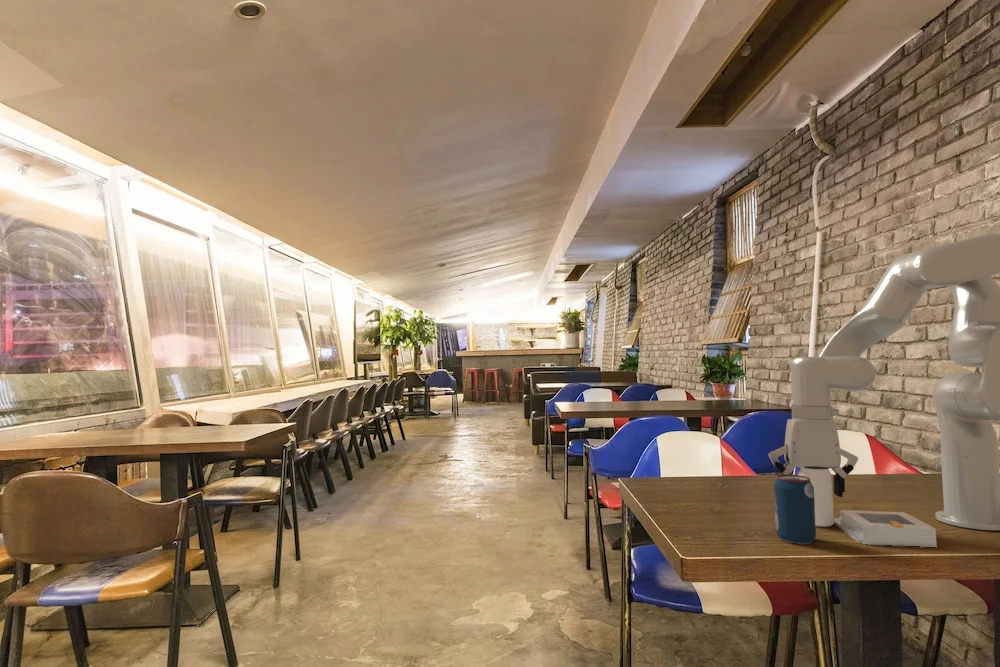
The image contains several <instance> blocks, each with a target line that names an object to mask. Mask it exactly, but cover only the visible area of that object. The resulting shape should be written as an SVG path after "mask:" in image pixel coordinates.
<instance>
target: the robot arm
mask: <svg viewBox="0 0 1000 667" xmlns="http://www.w3.org/2000/svg"><path fill="white" fill-rule="evenodd" d="M999 274H1000V234H999V233H992V232H991V233H984V234H981V235H977V236H974V237H969V238H966V239H965V238H964V239H962V240H958V241H953V242H950V243H945V244H941V245H936V246H931V247H927V248H922V249H919V250H916V251H912V252H909V253H905V254H903V255H900V256H898V257H897V258H895V259H894V260H893V261H892V262H891V263H890V264H889V265H888V267H887V268H886V270H885V271H884V273H883V274H882V276H881V278H879V281H878V282H877V284H876V285H875V286H874V288H873V290H872V292H871V293H870V295H869V297H868V298H867V299H866V301H865V303H864V304H863V306H862V307H861V308H860V309H859V311H857V312H856V313H855V314H854V315H853V316H851V318H849V320H848V321H847V322H846V323H844V325H843V326H842V327H840V329H838V331H837V332H835V333H834V334H833V335H832V337H831V338H830V339H829V340H828V342H827V343H826V345H825V346H824V347H823V350H822V351H821V352H820V354H819V355H818V356H797V357H794V358H793V359H792V360H791V361H790V362H791V363H790V391H791V419H790V418H788V419H787V422H786V428H785V434H784V435H785V436H784V446H781V447H779V448H777V449H775V450H773V451H770V452H769V453H768V454H767V455H768V457H769V459H770V461H771V463H772V464H773V466H774V467H775V469H777V470H778V471H779V472H780V473H781V475H791V473H792V472H793V471H794V470H795V469H796V468H800V467H806V468H829V469H830V470H831V471H833V472H834V473H835V475H833V476H832V480H833V495H835V496H837V497H838V498H843V495H844V493H846V483H845V481H846V480H845V479H846V478H847V476H848V475H849V474H850V473H851V472H852V471H853V470H854V468H855V467H856V465H857V463H858V461H859V457H858V456H857V455H854V454H852V453H851V452H849V451H846V450H844V449H843V448H841V445H840V439H839V433H838V428H837V424H836V421H835V420H833V417H834V416H839V414H840V412H839V409H838V408H833V405H832V390H833V391H835V390H836V391H844V392H845V391H847V392H859V391H863V390H866V389H867V388H869V387H871V386H872V385H873V384H874V382H875V381H876V376H877V373H876V368H875V366H874V365H873V364H872V363H871V362H870V361H869V360H868V359H866V358H864V357H861V355H862V354H863V353H864V352H866V351H867V350H868V349H869V348H871V347H872V346H874V345H875V344H877V343H878V342H880V341H883V340H884V339H886V338H888V337H890V336H892V335H893V334H896V332H898V331H899V330H901V329H902V328H903V327H904V326H905V324H906V322H907V320H908V319H909V318H910V316H911V314H912V313H913V311H914V309H915V307H916V306H917V305H918V303H919V302H920V301H921V299H922V297H923V296H924V294H925V292H927V290H933V289H938V288H944V287H947V288H948V289H949V291H950V293H951V294H952V297H953V300H954V302H953V304H954V307H953V315H952V322H951V327H950V334H949V339H948V347H947V348H948V350H947V352H948V356H949V357H950V359H951V361H953V362H954V363H955V364H957V365H959V366H961V367H967V368H981V372H955V373H950V374H948V375H945V376H943V377H942V378H940V379H938V381H937V382H936V383H935V384H934V386H933V389H932V403H933V407H934V410H935V414H936V417H937V422H938V428H939V437H940V438H939V440H940V458H941V477H942V478H941V479H942V480H941V482H942V495H943V510H938V511H936V512H935V513H934V514H935V519H936V520H937V521H940V522H941V523H943V524H948V525H951V526H955V527H959V528H965V529H972V530H980V531H997V532H998V531H1000V461H999V460H1000V457H999V442H998V441H999V440H998V437H997V432H996V430H995V427H994V426H993V424H992V421H994V422H1000V285H999V283H998V282H997V281H996V280H995V279H994V278H993V277H992V276H996V275H999ZM783 455H784V461H785V462H786V463H785V464H782V463H781V462H780V460H779V457H781V456H783ZM842 457H844V458H845V459H847V462H846V463H845V464H844V465H843V466H842V467H841V462H842Z"/></svg>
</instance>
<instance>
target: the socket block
mask: <svg viewBox="0 0 1000 667" xmlns="http://www.w3.org/2000/svg"><path fill="white" fill-rule="evenodd" d="M833 525H835V526H836V527H837V528H839V529H840V530H841V531H842V532H844V533H845V534H846V535H848V537H851V538H852V539H853V540H854V541H856V542H857V543H861V544H863V545H866V544H867V545H868V546H885V545H892V546H891V547H905V546H920V547H919V548H925V547H936V548H935V549H937V548H938V545H937V544H938V543H937V530H936V528H935V527H934V526H931V525H929V524H927V523H926V522H924V521H921V520H920V519H918V518H916V517H914V516H913V515H911V514H908V513H906V512H903V511H881V510H880V511H877V510H875V511H874V510H855V509H854V510H852V509H849V510H848V509H840V510H839V517H834V524H833ZM900 545H901V546H900ZM903 545H904V546H903Z"/></svg>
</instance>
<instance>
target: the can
mask: <svg viewBox="0 0 1000 667" xmlns="http://www.w3.org/2000/svg"><path fill="white" fill-rule="evenodd" d="M797 475H800V476H806V477H809V478H810V482H811V484H812V485H813V487H814V502H815V525H816V528H830V527H831V528H832V527H833V525H835V524H834V518H835V517H834V496H833V495H834V489H833V476H832V473H831V471H830V468H806V467H799V469H798V471H797Z"/></svg>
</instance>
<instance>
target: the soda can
mask: <svg viewBox="0 0 1000 667" xmlns="http://www.w3.org/2000/svg"><path fill="white" fill-rule="evenodd" d="M773 493H774V496H773V498H774V518H775V519H774V521H775V522H774V523H775V524H774V525H775V533H776V535H777V537H778V538H779V539H780V540H781V541H782V540H783V541H782V542H784V541H786V542H785V543H788V542H791V543H790V544H792V543H797V544H796V545H810V544H812V543H813V542H814V540H815V539H816V536H817V531H816V528H817V527H816V525H815V502H814V487H813V485H812V484H811V482H810V478H809V477H806V476H800V475H798V474H790V475H782V474H779V475H776V480H775V481H774V484H773Z"/></svg>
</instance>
